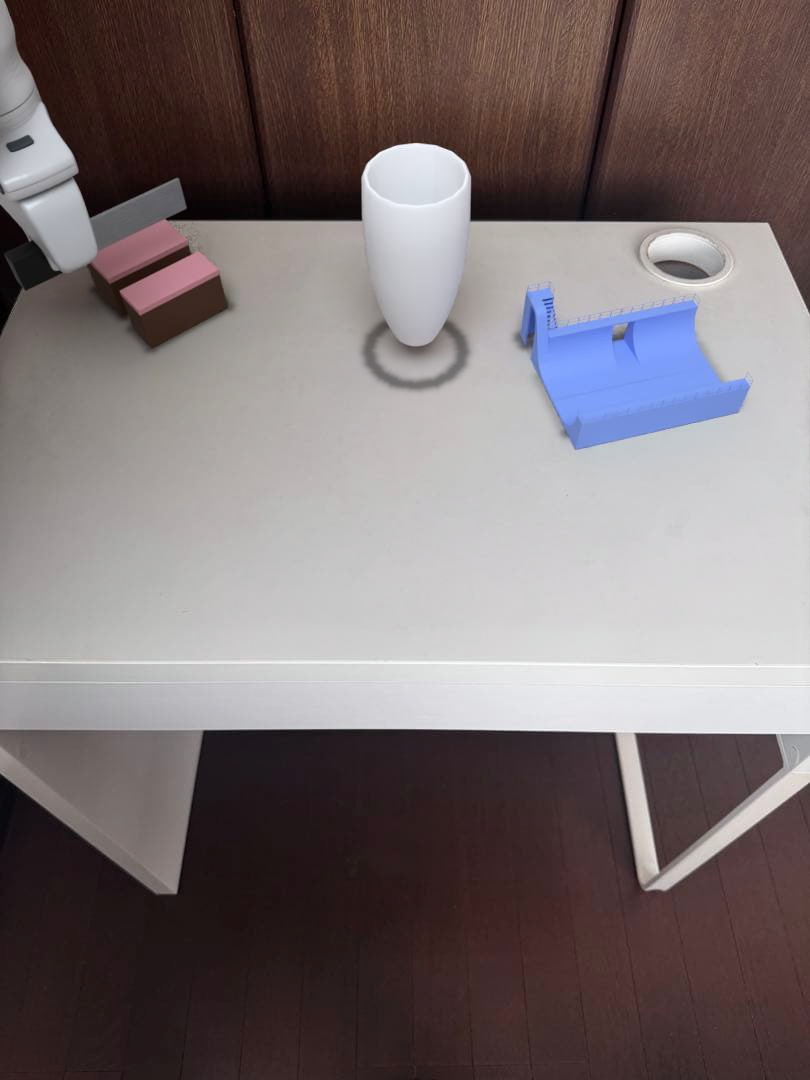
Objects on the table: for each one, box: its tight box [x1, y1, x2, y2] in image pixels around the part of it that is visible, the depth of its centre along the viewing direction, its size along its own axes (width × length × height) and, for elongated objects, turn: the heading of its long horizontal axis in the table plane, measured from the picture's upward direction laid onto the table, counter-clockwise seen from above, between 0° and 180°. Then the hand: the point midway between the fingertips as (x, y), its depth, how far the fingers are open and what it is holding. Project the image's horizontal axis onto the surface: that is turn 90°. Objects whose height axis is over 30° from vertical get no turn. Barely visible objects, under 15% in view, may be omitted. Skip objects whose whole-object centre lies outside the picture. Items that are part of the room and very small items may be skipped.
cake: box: [86, 218, 192, 318], centre depth 99 cm, size 10×6×6 cm, turn 130°
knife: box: [3, 177, 188, 292], centre depth 88 cm, size 19×2×4 cm, turn 129°
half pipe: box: [519, 281, 754, 451], centre depth 90 cm, size 18×16×7 cm
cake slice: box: [120, 250, 228, 349], centre depth 96 cm, size 10×4×6 cm, turn 130°
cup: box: [361, 142, 472, 347], centre depth 86 cm, size 10×10×22 cm
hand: (51, 256), depth 86 cm, fingers closed on knife, 2 cm apart
